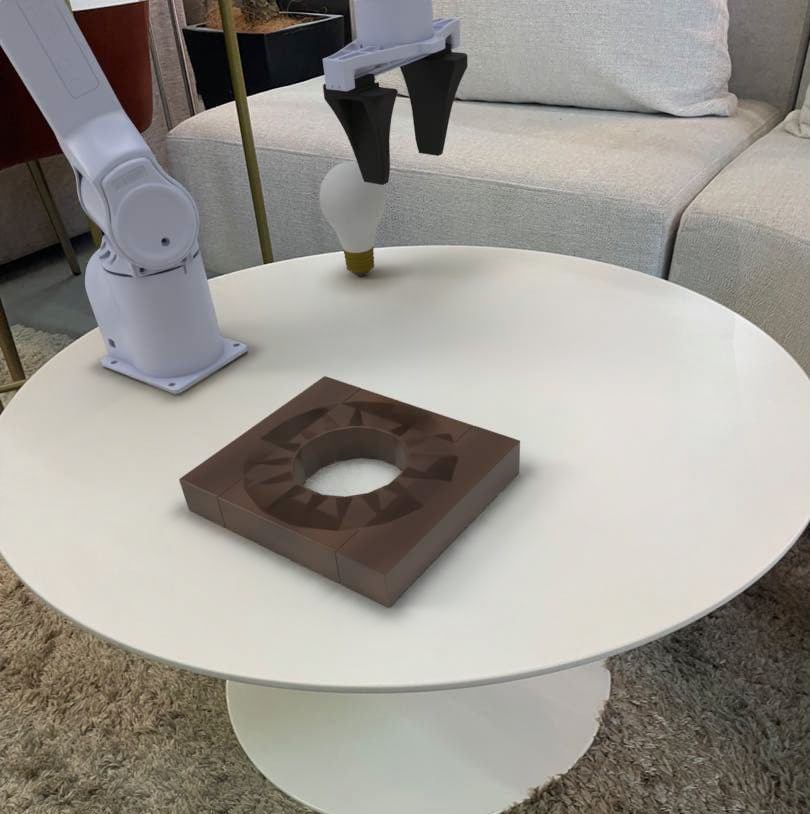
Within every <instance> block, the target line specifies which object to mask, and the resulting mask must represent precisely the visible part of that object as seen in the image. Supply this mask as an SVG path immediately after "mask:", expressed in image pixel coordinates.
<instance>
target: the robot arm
mask: <svg viewBox="0 0 810 814" xmlns="http://www.w3.org/2000/svg"><path fill="white" fill-rule="evenodd" d="M352 1H353V3H352V4H353V11H354V13H353V14H354V20H355V21H354V23H355V33H356V39H354V40H353V41H352V42H350V43H348V44H346V45H345V46H344V47H343V48H341V49H339V50H338V51H337V52H335V53H334V54H333V53H332V54H331V55H329V56H327V57H324V58H322V65H323V72H324V73H323V74H324V75H323V76H324V82H325V83H323V84H322V90H323V91H322V92H323V99H324V100H325V102H326V103H327V104H328V106H329V107H330V109H331V111H332V112H333V113H334V115H335V116H336V118H337V120H338V121H339V123H340V125H341V127H342V129H343V130H344V133H345V135H346V137H347V140H348V141H349V144H350V146H351V149H352V151H353V154H354V157H355V161H356V162H357V163H358V166H359V169H360V172H361V175H362V177H363V180H364V182H368V183H374V184H379V185H384V186H385V185H386V184H388V183H389V180H390V172H391V153H390V152H391V149H390V139H391V137H390V135H391V125H392V117H393V111H394V106H395V103H396V100H397V96H398V93H399V91H398V89H397V88H391V87H383V86H380V82H379V81H377V82H376V78H375V77H378V76H380V75H383V74H385V73H388V72H390V71H393V70H395V69H398V68H399V69H400V72H401V74H402V77H403V80H404V83H405V86H406V89H407V93H408V97H409V102H410V107H411V113H412V121H413V129H414V138H415V144H416V147H417V150H418V151H417V152H418V154H421V155H422V154H423V155H430V156H436V157H439V156H441V155H443V153H444V149H445V143H446V139H447V133H448V127H449V122H450V119H451V114H452V113H451V112H452V109H453V105H454V102H455V99H456V98H455V97H456V95H457V91H458V89H459V87H460V84H461V81H462V79H463V77H464V74H465V73H466V70H467V69H468V54H467V53H466V52H458V51H457V52H456V51H452V50H455V49H457V48H460V47H461V22H460V21H461V20H460V18H453V17H451V18H450V17H438V18H433V17H434V13H433V12H434V11H433V0H352ZM0 47H1V48H2V50H3V51H4V53H5V55H6V56H7V58H8V59H9V61H10V63H11V64H12V66H13V68H14V70H15V72H16V73H17V74H18V76H19V77H20V79H21V81H22V82H23V84H24V86H25V87H26V89H27V91H28V92H29V94H30V96H31V97H32V99H33V101H34V102H35V104H36V105H37V107H38V108H39V110H40V112H41V113H42V115H43V117H44V118H45V120H46V121H47V124H48V125H49V127H50V128H51V130H52V131H53V133H54V135H55V137H56V140H57V142H58V143H59V147H60V149H61V150H62V152H63V154H64V155H65V158H66V159H67V160H68V162H69V164H70V167H71V168H72V170H73V173H74V176H75V182H76V192H77V197H78V201H79V203H80V205H81V208H82V209H83V211H84V213H85V214H86V216H87V217H88V218H89V219H90V220H91V221H92V222H93V223H94V224H95V225H96V226H97V227H99V229H100V230H101V231H102V232H103V233H104V234H103V236H102V238H101V244H100V247H99V248H98V249H97V250H96V251H95V252H94V253H93V254H92V256H91V257H90V259H88V263H87V265H86V268H85V273H84V287H85V291H86V292H85V293H86V295H87V298H88V300H89V303H90V304H89V305H90V306H91V309H92V312H93V314H94V315H93V316H94V317H95V318H94V319H95V321H96V323H97V327H98V329H99V332H100V334H101V337H102V340H103V343H104V346H105V349H106V351H107V354H108V355H106V356H104V357H102V358H101V359H100V364H101V366H102V367H104V368H107V369H109V370H112V371H115V372H117V373H120V374H123V375H125V376H128V377H130V378H132V379H135V380H138V381H140V382H143V383H146V384H148V385H151V386H152V387H156V388H158V389H160V390H163V391H166V392H168V393H171V394H174V395H178V394H181V393H183V392H185V391H186V390H187V389H189V388H191V387H193V386H194V385H197V383H199V382H200V381H202V380H204V379H206V378H207V377H209V376H210V375H211V374H213V373H215V372H217V371H218V370H220V369H221V368H223V367H225V366H226V365H227V364H229V363H231V362H232V361H234V360H236V359H237V358H238V357H240V356H243V355H244V354H245V353H247V351H248V345H247V344H245V343H242V342H239V341H237V340H234V339H231V338H227V337H224V336H222V334H221V330H220V325H219V322H218V318H217V314H216V310H215V306H214V302H213V297H212V293H211V289H210V285H209V280H208V278H207V273H206V268H205V265H204V260H203V257H202V252H201V248H200V244H199V240H198V237H199V231H200V216H199V211H198V210H199V209H198V208H197V205H196V202H195V200H194V198H193V197H192V195H191V194H190V192H189V191H188V190H187V189H186V188H185V187H184V186H183V185H182V184H181V183H179V182H178V181H177V180H176V179H174V178H173V177H171V176H170V175H169V174H167V172H166V171H165V170H164V169H163V168H162V167H161V166H160V164H159V162H158V160H157V159H156V157H155V155H154V153H153V152H152V149H151V148H150V146H149V145H148V144H147V142H146V140H145V139H144V137H143V136H142V134H141V133H140V132H139V130H138V128H137V127H136V126H135V125H134V123H133V122H132V121H131V119H130V118H129V116H128V114H127V113H126V111H125V109H124V108H123V106H122V104H121V103H120V101H119V99H118V97H117V95H116V94H115V91H114V90H113V88H112V86H111V84H110V82H109V81H108V78H107V77H106V75H105V73H104V71H103V70H102V68H101V66H100V64H99V62H98V61H97V58H96V56H95V55H94V53H93V51H92V49H91V47H90V45H89V44H88V42H87V40H86V38H85V36H84V35H83V32H82V31H81V29H80V27H79V25H78V23H77V21H76V20H75V18H74V16H73V15H72V12H71V10H70V9H69V7H68V5H67V3H66V1H65V0H0Z"/></svg>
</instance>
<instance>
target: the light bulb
mask: <svg viewBox="0 0 810 814" xmlns="http://www.w3.org/2000/svg"><path fill="white" fill-rule="evenodd" d="M386 205H387V192H386V187H385V184H384V185H379V184H374V183H368V182H364V180H363V177H362V175H361V172H360V169H359V166H358V163H357V161H356V160H355V161H354V160H352V161H351V160H350V161H349V160H348V161H344V162H340V163H339V164H337V165H335V166H333V167H331V169H330V170H329V171H328V172H327V173H326V174H325V176H324V177H323V179H322V181H321V184H320V187H319V206H320V209H321V213H322V215H323V217H324V218H325V220H326V222H327V223H328V224H329V225H330V226H331V228H332V229H333V230H334V232H335V233H336V235H337V237H338V240H339V243H340V246H341V247H342V249H343V255H344V259H345V260H344V261H345V267H346V270H347V271H348V272H351V273H352V274H354V275H355V276H357V277H365V276H366V275H367V274H368V273H369V272H370V271H371V270H372V269H373V268H375V256H374V255H375V251H374V248H375V247H374V244H375V242H376V237H377V229H378V226H379V225H380V222H381V220H382V217H383V215H384V212H385V210H386V207H387V206H386Z"/></svg>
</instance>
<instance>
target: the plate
mask: <svg viewBox="0 0 810 814" xmlns="http://www.w3.org/2000/svg"><path fill="white" fill-rule="evenodd" d="M520 455H521V440H520V439H517V438H514V437H511V436H508V435H505V434H501V433H500V432H499V433H498V432H495V431H492V430H490V429H486V428H484V427H480V426H477V425H473V424H470V423H467V422H464V421H461V420H459V419H456V418H453V417H449V416H446V415H443V414H441V413H437V412H435V411H432V410H429V409H425V408H422V407H419V406H417V405H413V404H411V403H407V402H404V401H401V400H398V399H394V398H392V397H389V396H386V395H383V394H380V393H378V392H375V391H372V390H368V389H365V388H362V387H359V386H356V385H353V384H351V383H348V382H344V381H341V380H338V379H335V378H333V377H330V376H326V375H324V376H322V377H321V378H320V379H318V380H317V381H315V382H314V383H312V384H311V385H310V386H308V387H307V388H306V389H303V390H302V391H301V392H300V393H298V394H297V395H295V396H294V397H293V398H291V399H290V400H289V401H287V402H286V403H284V404H283V405H282V406H280V407H279V408H277V409H275V411H273V412H271V413H270V414H269V415H267V416H266V417H264V418H263V419H262V420H260V421H259V422H258V423H256V424H255V425H253V426H252V427H250V428H249V429H248V430H246V431H245V432H244V433H242V434H241V435H239V436H238V437H236V438H235V439H233V440H232V441H231V442H229V443H228V444H226V445H225V446H224V447H222V448H221V449H219V450H218V451H216V452H215V453H214V454H212V455H211V456H209V457H208V458H207V459H205V460H204V461H202V462H201V463H200V464H198V465H197V466H195V467H194V468H193V469H191V470H190V471H188V472H187V473H186V474H184V475H183V476H181V477H180V478H179V479H178V481H179V485H180V487H181V490H182V493H183V497H184V499H185V503H186V506H187V509H188V511H189V512H193V513H194V514H196V515H199V516H201V517H203V518H204V519H207V520H209V521H210V522H213V523H215V524H217V525H219V526H221V527H223V528H226V529H227V530H229V531H232V532H234V533H235V534H237V535H239V536H242V537H244V538H245V539H248V540H250V541H252V542H254V543H256V544H258V545H261V547H264V548H266V549H268V550H271V551H272V552H274V553H276V554H279V555H281V556H283V557H285V558H287V559H289V560H290V561H293V562H294V563H297V564H299V565H301V566H304V567H305V568H308V569H309V570H312V571H313V572H316V573H317V574H319V575H322V576H324V577H326V578H327V579H330V580H332V581H334V582H336V583H338V584H341V585H342V586H344V587H345V588H348V589H349V590H352V591H354V592H356V593H358V594H360V595H362V596H364V597H366V598H369V599H370V600H371V601H374V602H376V603H379V604H381V605H382V606H385V607H387V608H391V606H392V605H393V604H395V603H396V601H397V600H398V599H399V598H400V597H401V596H402V595H403V594H404V592H406V591H407V589H408V588H410V586H412V584H413V583H414V582H415V581H416V580H417V579H418V578H419V577H420V576H421V575H422V574H423V573H424V572H425V571H426V570H427V569H428V568H429V567H430V566H431V565H432V564H433V563H434V562H435V561H436V560H437V558H439V556H440V555H441V554H442V553H444V551H445V550H446V549H447V548H448V547H449V546H450V545H451V544H452V543H453V542H454V541H455V540H456V539H457V538H458V537H459V536H460V535H461V533H462V532H464V530H466V528H467V527H469V525H471V523H472V522H473V521H474V520H475V519H476V518H477V517H478V516H479V515H480V514H481V513H482V512H483V511H484V510H485V509H486V508H487V507H488V506H489V504H490V503H492V501H494V500H495V498H496V497H497V496H498V495H499V494H500V493H501V492H502V491H503V490H504V489H505V488H506V487H507V486H508V485H509V484H510V483H511V482H512V480H514V479H515V477H516V476H518V474H520V461H521V460H520V459H521V458H520V457H521V456H520ZM353 459H354V460H355V459H371V460H380V461H382V462H384V463H387V464H389V465H390V464H391V465H392V466H396V467H397V468H398V469H399V470H400V471H401V473H399V474H398V475H396V476H395V478H394V479H392V480H391V481H390V482H389V483H388V484H385V485H383V486H381V487H378V488H376V489H374V490H371V491H369V492H365V493H359V494H353V495H346V496H345V495H332V494H331V495H330V494H323V493H320V492H318V491H316V490H313V489H311V488H308V487H306V486H304V484H305V482H306V481H307V479H309V478H310V477H312V475H313V474H315V473H316V472H317V471H318V470H320V469H322V468H324V467H326V466H330V465H331V464H335V463H336V462H341V461H346V460H347V461H348V460H353Z"/></svg>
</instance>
